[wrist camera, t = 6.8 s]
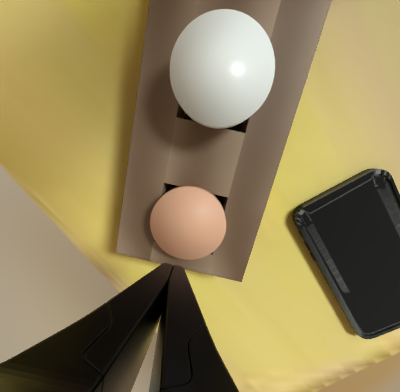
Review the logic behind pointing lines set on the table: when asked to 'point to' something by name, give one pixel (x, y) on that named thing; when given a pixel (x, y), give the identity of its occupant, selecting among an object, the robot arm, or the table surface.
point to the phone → (358, 248)
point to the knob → (188, 222)
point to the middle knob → (222, 68)
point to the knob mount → (213, 131)
